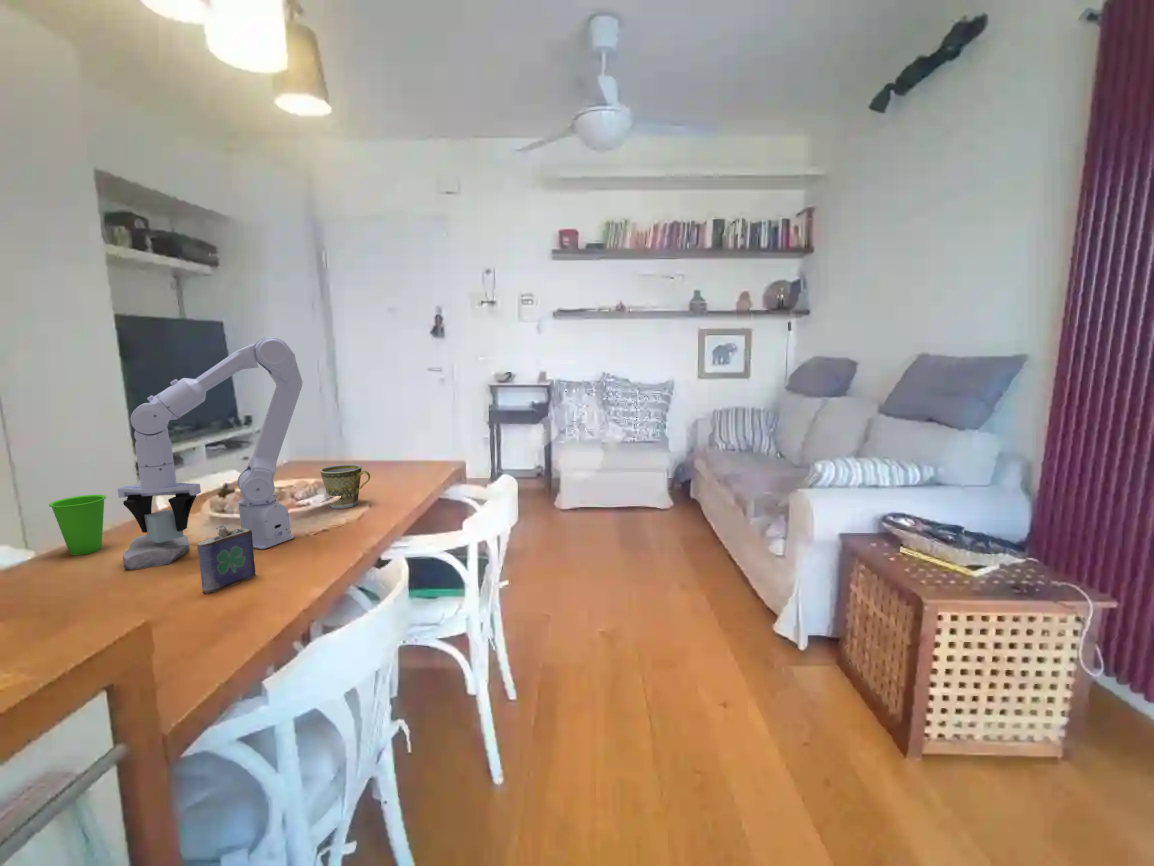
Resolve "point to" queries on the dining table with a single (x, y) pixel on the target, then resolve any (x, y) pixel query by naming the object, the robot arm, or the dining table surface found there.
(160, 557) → the stone block
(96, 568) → the dining table surface
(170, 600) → the dining table surface
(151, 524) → the cube
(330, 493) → the ceramic cup
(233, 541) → the flask
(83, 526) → the cup
